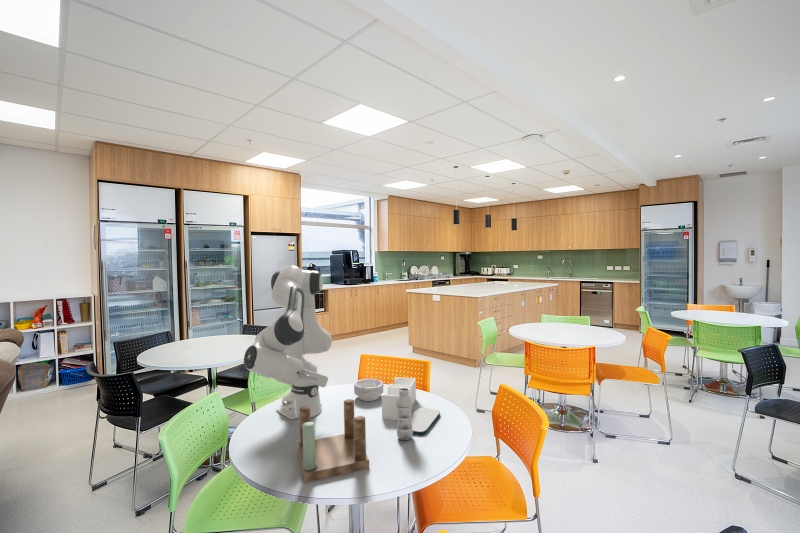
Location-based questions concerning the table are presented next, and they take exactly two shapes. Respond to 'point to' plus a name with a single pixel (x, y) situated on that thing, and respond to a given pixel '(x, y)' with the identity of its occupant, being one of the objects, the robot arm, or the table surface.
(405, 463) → the table surface
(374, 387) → the light grey bowl
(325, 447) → the stool
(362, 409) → the table surface
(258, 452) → the table surface
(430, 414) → the external hard drive
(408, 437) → the plastic bottle
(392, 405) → the storage container
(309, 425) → the green piece
